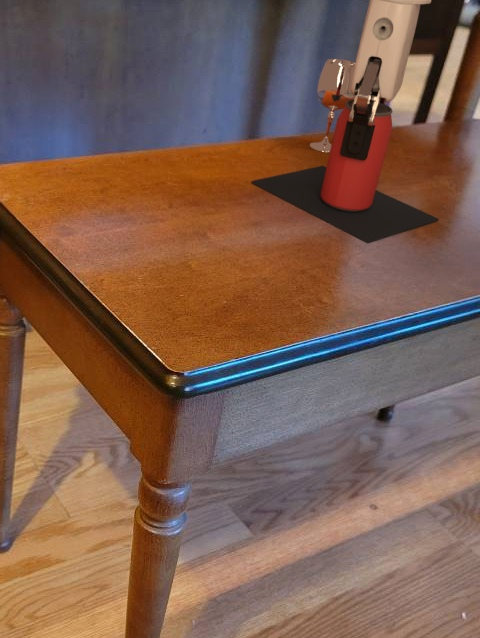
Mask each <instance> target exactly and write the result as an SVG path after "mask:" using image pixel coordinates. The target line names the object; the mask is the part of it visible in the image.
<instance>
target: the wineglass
mask: <svg viewBox="0 0 480 638" xmlns="http://www.w3.org/2000/svg"><path fill="white" fill-rule="evenodd" d="M354 67H355V62H354V61H351V60H347V59H340V58H328V59H326V61H325V62H324V65H323V68H322V70H321V72H320V75H319V78H318V81H317V85H316V98H317V100H318V102H319V103H320V105H322V106H323V107H324V108H326V109H328V110H329V112H328V114H327V115H326V116H327V118H326V119H327V121H326V123H327V124H326V129H325V135H324V138H323V139H322V140H321V141H313V142H311V143H309V147H310V148H311V149H313V150H315V151H317V152H322V153H326V154H327V153H329V154H330V150H331V145H332V143H330V141H329V134H330V129H331V126H332V124H333V122H334V121H335V111H340V110H341V111H342V110H343V109H344V107H345V103H346V102H347V101H348V100H352V99H354V98H355V96H354V95H353V94H352V92H351V83H352V77H353V72H354Z"/></svg>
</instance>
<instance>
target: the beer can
mask: <svg viewBox="0 0 480 638" xmlns="http://www.w3.org/2000/svg"><path fill="white" fill-rule="evenodd" d="M353 102H354V99H352V100H348V101H347V102H346V103H345V107H344V109H341V112H340V113H339V115H338V117H337V119H336V123H335V127H334V131H333V136H332V140H331V144H332V145H331V150H330V153H329V154H328V159H327V164H326V166H325V167H326V172H325V176H324V181H323V185H322V190H321V198H322V200H323V201H324V202H325V203H326V204H327V205H329V206H330V207H333V208H335V209H338V210H342V211H348V212H359V211H363V210H366V209H368V208H369V207H370V206H371V205H372V203H373V199H374V195H375V191H376V190H377V188H378V183H379V181H380V176H381V173H382V169H383V166H384V161H385V157H386V154H387V150H388V147H389V143H390V140H391V136H392V132H393V120H392V119H393V118H392V114H393V108H391V106H390V105H388V104H386V103H385V104H383V103H379V106H378V109H377V113H376V116H375V119H374V123H373V125H375V129H374V133H373V137H372V141H371V145H370V149H369V153H368V157H367V159H366V160H364V161H362V160H358V159H353V158H349V157H344V156H341V155H340V150H341V146H342V141H343V137H344V133H345V128H346V124H347V120H349V116H350V112H351V109H352V105H353ZM369 104H371V106H372V107H373V103H370V102H369ZM370 114H371V113H370Z"/></svg>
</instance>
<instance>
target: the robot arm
mask: <svg viewBox="0 0 480 638" xmlns="http://www.w3.org/2000/svg"><path fill="white" fill-rule="evenodd" d="M431 3H432V0H369V3H368V6H367V10H366V11H367V12H366V14H365V18H364V22H363V27H362V31H361V36H360V40H359V44H358V49H357V54H356V58H355V62H354V63H355V67H354V72H353V77H352V83H351V92H352V94H353V95H354V96H355V98H354V102H353V105H352V109H351V112H350V116H349V120H347V124H346V128H345V133H344V137H343V141H342V146H341V150H340V155H341V156H344V157H349V158H353V159H358V160H362V161H364V160H366V159H367V157H368V153H369V149H370V145H371V141H372V137H373V133H374V129H375V125H373V123H374V119H375V116H376V113H377V109H378V106H379V103H383V104H385V105H386V103H390V102H392V101H393V100H394V99H395V98H396V96H397V95H398V93H399V92H400V90H401V88H402V85H403V82H404V77H405V72H406V69H407V64H408V61H409V58H410V57H409V56H410V52H411V48H412V44H413V40H414V36H415V33H416V28H417V24H418V19H419V14H420V9H421V5H426V4H427V5H430V4H431ZM369 102H370V103H373V107H372V106H371V104H369ZM370 113H371V114H370Z"/></svg>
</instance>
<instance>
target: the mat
mask: <svg viewBox="0 0 480 638" xmlns="http://www.w3.org/2000/svg"><path fill="white" fill-rule="evenodd" d="M326 167H327V166H324V165H319V166H315V167H310V168H305V169H302V170H297V171H292V172H287V173H282V174H277V175H273V176H268V177H264V178H259V179H255V180H251V182H250V183H251V184H252V185H254V186H256V187H257V188H260V189H262V190H263V191H266V192H268V193H269V194H272V195H273V196H275V197H278V198H279V199H281V200H283V201H285V202H287V203H288V204H291V205H293V206H295V207H296V208H298V209H301V210H303V211H305V212H307V213H308V214H309V215H312V216H315V217H317V218H318V219H320V220H322V221H324V222H326V223H328V224H330V225H332V226H334V227H336V228H337V229H339V230H341V231H344V232H345V233H347V234H349V235H351V236H352V237H355V238H357V239H358V240H361V241H363V242H365V243H367V244H370V243H372V242H377V241H379V240H382V239H385V238H389V237H392V236H395V235H398V234H402V233H405V232H409V231H412V230H414V229H418V228H420V227H424V226H427V225H430V224H433V223H436V222H439V219H440V218H438V217H436V216H433V215H431V214H430V213H426V212H425V211H423V210H421V209H418V208H416V207H413V206H412V205H410V204H408V203H406V202H403V201H401V200H399V199H396V198H394V197H392V196H390V195H388V194H385V193H383V192H381V191H379V190H377V189H376V191H375V195H374V199H373V203H372V205H371V206H370V207H369V208H368V209H366V210H363V211H359V212H348V211H342V210H338V209H335V208H333V207H330V206H329V205H327V204H326V203H325V202H324V201H323V200H322V198H321V190H322V185H323V181H324V176H325V172H326Z"/></svg>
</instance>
